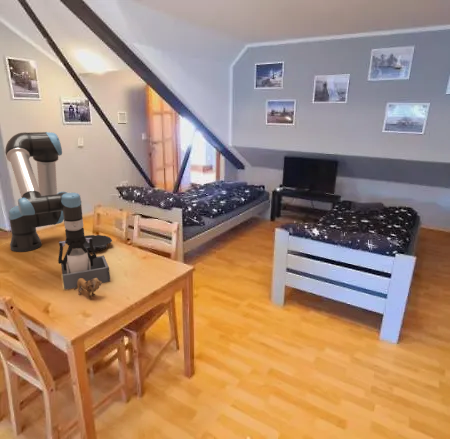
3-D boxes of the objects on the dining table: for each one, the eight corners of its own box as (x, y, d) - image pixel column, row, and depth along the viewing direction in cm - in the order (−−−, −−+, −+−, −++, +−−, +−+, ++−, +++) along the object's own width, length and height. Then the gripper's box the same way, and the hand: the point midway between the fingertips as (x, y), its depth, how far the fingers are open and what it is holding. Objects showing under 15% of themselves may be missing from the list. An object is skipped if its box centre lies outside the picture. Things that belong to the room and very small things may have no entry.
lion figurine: (104, 295, 144) (103, 276, 141) (95, 301, 139) (94, 282, 136) (78, 287, 149) (76, 269, 146) (68, 293, 144) (66, 274, 141)
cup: (82, 281, 150) (80, 257, 146) (64, 279, 152) (61, 254, 148) (93, 272, 158) (91, 249, 155) (76, 270, 160) (74, 247, 156)
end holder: (61, 275, 158) (59, 262, 156) (105, 268, 167) (103, 255, 165) (62, 290, 146) (61, 275, 144) (110, 281, 155) (109, 267, 153)
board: (62, 248, 187) (62, 240, 186) (97, 239, 205) (96, 231, 203) (86, 259, 176) (86, 250, 174) (120, 248, 193) (120, 240, 192)
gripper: (47, 234, 140) (53, 282, 147) (101, 227, 149) (104, 273, 157) (46, 228, 146) (53, 274, 153) (98, 222, 156) (102, 266, 163)
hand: (79, 274), depth 155 cm, fingers closed on cup, 9 cm apart
